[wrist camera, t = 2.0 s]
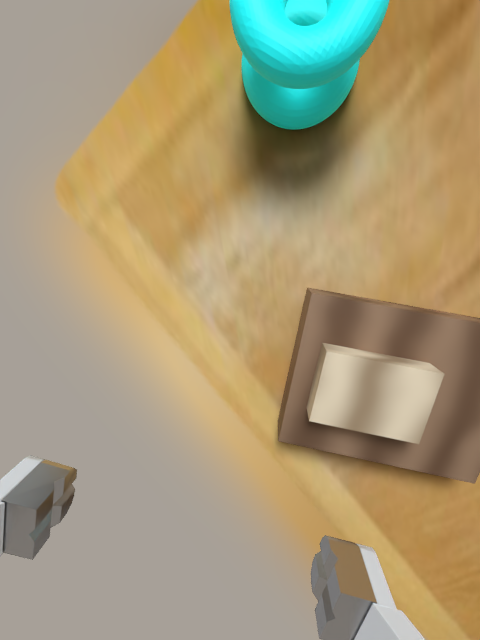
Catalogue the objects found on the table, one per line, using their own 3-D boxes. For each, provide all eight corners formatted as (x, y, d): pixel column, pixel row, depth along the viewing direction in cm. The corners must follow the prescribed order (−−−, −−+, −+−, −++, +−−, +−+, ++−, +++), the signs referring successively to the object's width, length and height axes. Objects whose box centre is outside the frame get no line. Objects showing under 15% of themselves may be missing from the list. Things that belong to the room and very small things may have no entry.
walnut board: (505, 322, 30) (539, 333, 26) (451, 456, 34) (474, 483, 30) (307, 287, 31) (311, 292, 27) (278, 419, 35) (278, 440, 31)
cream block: (429, 363, 27) (444, 373, 25) (407, 428, 29) (419, 444, 27) (322, 342, 28) (326, 351, 26) (306, 407, 30) (309, 421, 27)
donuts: (283, -180, 16) (440, -81, 16) (280, -17, 26) (378, 44, 26) (197, 21, 18) (333, 105, 19) (224, 100, 28) (313, 155, 28)
